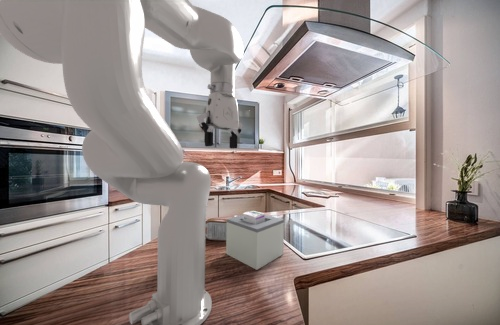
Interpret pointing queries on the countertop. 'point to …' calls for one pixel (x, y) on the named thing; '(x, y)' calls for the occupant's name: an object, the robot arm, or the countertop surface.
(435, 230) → the countertop surface
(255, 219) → the syrup box
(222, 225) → the tin
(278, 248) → the post box
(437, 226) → the countertop surface
